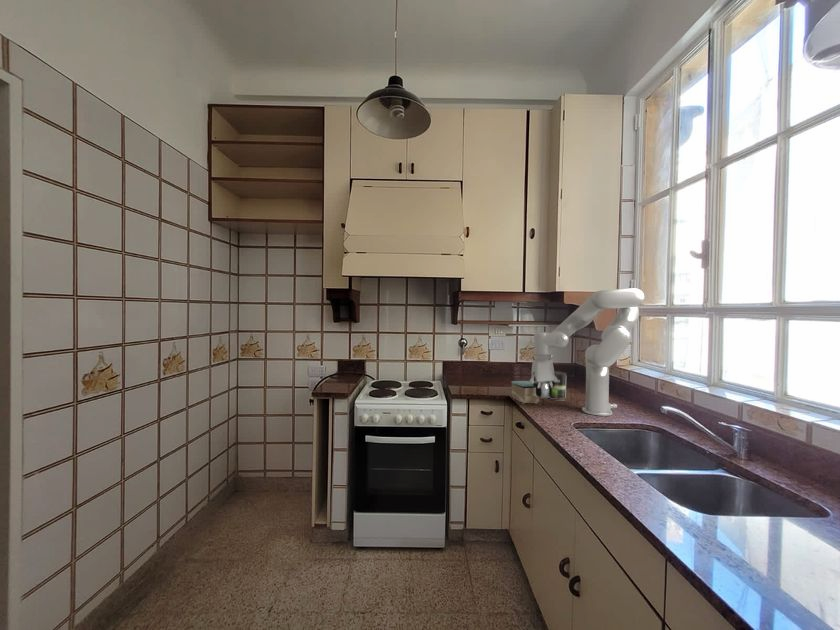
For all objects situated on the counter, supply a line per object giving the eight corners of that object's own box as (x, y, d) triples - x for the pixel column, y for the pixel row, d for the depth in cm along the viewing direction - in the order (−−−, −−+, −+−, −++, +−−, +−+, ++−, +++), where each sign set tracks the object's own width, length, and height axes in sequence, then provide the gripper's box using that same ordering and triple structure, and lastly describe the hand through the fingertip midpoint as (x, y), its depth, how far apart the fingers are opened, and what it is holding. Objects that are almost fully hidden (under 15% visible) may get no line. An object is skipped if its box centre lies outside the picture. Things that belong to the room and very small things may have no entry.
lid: (526, 382, 187) (526, 380, 187) (539, 385, 175) (539, 383, 175) (511, 383, 185) (511, 381, 185) (523, 386, 173) (523, 384, 173)
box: (526, 397, 187) (526, 383, 187) (538, 403, 175) (539, 387, 175) (511, 398, 185) (511, 383, 185) (523, 404, 173) (523, 388, 173)
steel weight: (545, 395, 168) (545, 381, 168) (551, 397, 163) (551, 383, 163) (536, 396, 167) (536, 382, 167) (542, 398, 162) (541, 384, 162)
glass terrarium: (562, 401, 179) (562, 374, 179) (542, 398, 186) (543, 372, 186) (569, 398, 187) (569, 372, 187) (550, 395, 194) (550, 370, 194)
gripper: (553, 356, 171) (554, 392, 171) (522, 358, 167) (524, 395, 167) (563, 357, 163) (564, 395, 163) (531, 359, 160) (532, 398, 159)
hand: (543, 395), depth 165 cm, fingers closed on steel weight, 5 cm apart
